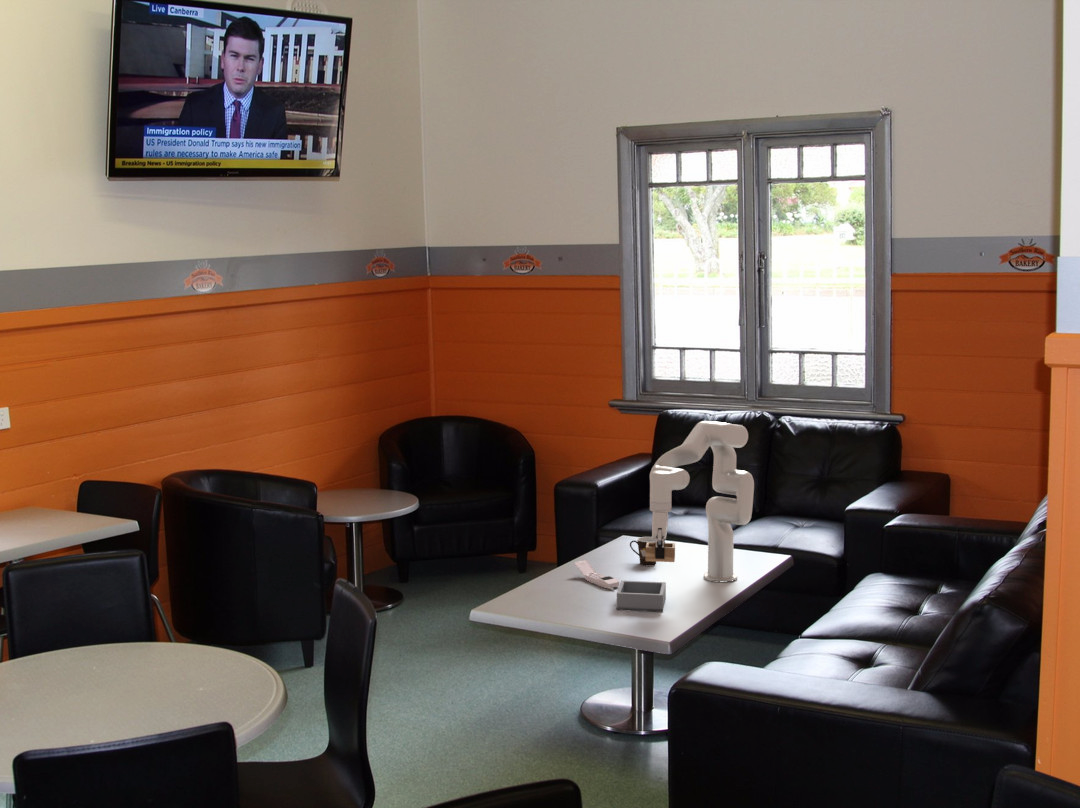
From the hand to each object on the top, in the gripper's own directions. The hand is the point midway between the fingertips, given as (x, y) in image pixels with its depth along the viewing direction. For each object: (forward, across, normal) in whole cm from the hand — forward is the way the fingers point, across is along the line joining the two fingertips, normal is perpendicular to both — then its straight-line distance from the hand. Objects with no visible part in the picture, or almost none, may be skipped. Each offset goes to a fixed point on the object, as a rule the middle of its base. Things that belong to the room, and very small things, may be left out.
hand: (660, 555), depth 403 cm
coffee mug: (+18, -56, -8) cm, 59 cm away
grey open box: (+18, 0, -6) cm, 19 cm away
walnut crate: (+1, 0, 0) cm, 1 cm away
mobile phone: (+18, -26, -24) cm, 40 cm away
